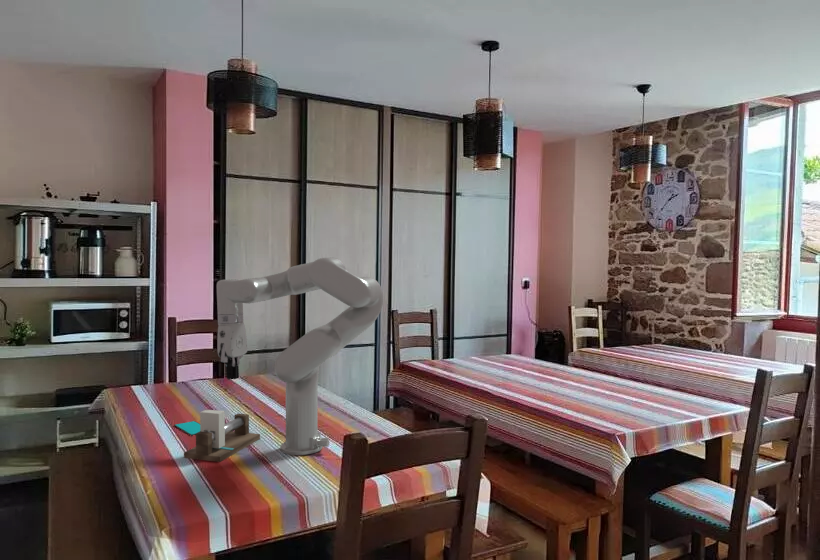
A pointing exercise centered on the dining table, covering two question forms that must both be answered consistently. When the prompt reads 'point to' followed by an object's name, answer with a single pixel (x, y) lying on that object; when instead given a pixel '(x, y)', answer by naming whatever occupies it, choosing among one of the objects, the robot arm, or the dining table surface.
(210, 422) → the collar
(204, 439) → the pipe rig
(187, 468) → the dining table surface
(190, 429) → the smartphone
